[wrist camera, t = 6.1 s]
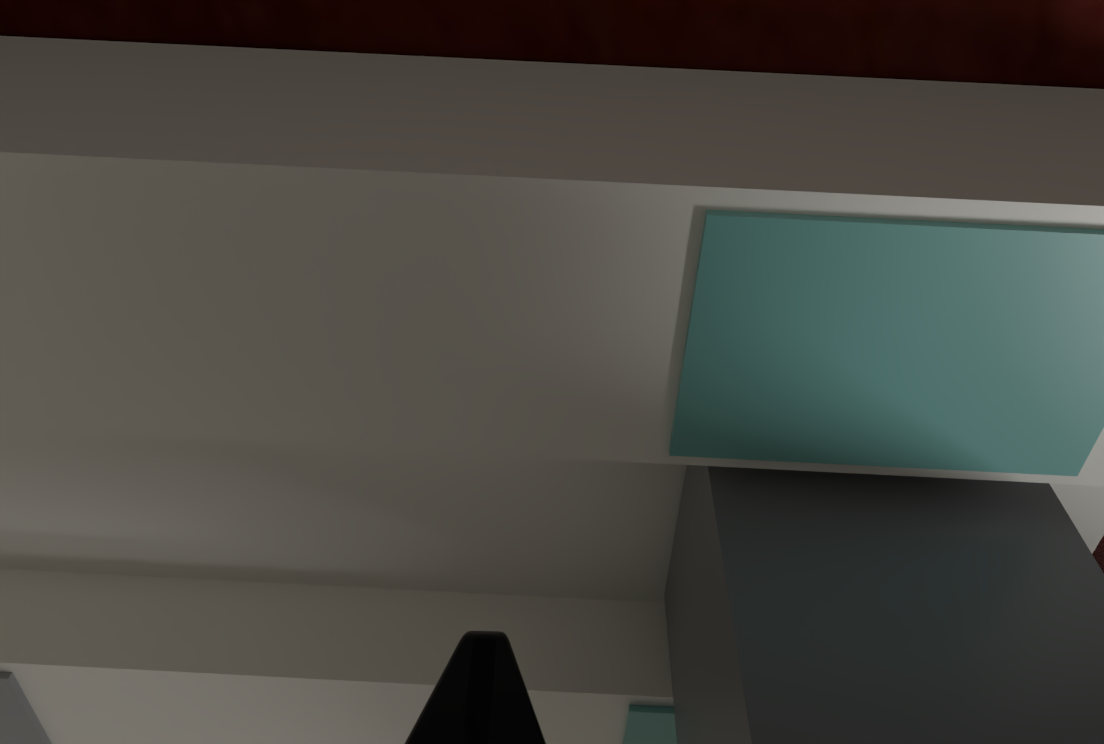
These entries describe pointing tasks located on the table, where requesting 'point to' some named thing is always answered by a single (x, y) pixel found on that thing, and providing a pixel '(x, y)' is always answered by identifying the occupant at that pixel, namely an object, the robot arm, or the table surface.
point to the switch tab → (881, 611)
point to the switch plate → (484, 360)
